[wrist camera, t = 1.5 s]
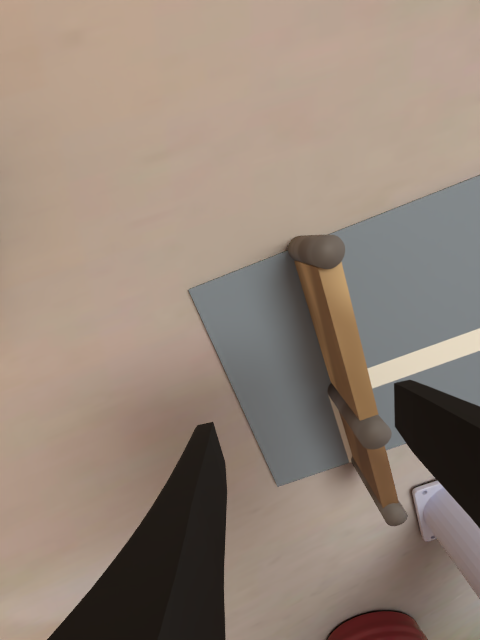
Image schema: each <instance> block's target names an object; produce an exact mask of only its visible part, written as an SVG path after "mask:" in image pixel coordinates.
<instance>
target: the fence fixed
mask: <svg viewBox="0 0 480 640" xmlns="http://www.w3.org/2000/svg"><path fill="white" fill-rule="evenodd" d="M328 395H329V396H330V398H331V399H332V401H333V402H334V404H335V405H336V407H337V408H338V410H339V413H340V416H341V419H342V423H343V426H344V429H345V433H346V436H347V439H348V443H349V446H350V449H351V452H352V458H351V462H352V463H353V465H354V467H355V469H356V470H357V472H358V474H359V476H360V477H361V479H362V481H363V483H364V484H365V486H366V488H367V490H368V491H369V493H370V495H371V497H372V498H373V500H374V502H375V504H376V505H377V507H378V509H379V511H380V512H381V514H382V516H383V518H384V519H385V521H386V523H387V524H388V525H390V526H397V525H400V524H402V523H404V522H405V521H406V519H407V517H408V515H407V513H406V511H405V510H404V508H403V507H402V505H401V504H400V502H399V501H398V498H397V494H396V490H395V485H394V481H393V477H392V473H391V469H390V465H389V461H388V457H387V453H386V449H385V445H386V444H387V443H388V442H389V440H390V438H391V435H392V432H391V429H390V428H389V427H388V425H387V424H386V423H385V422H384V421H383V420H382V419H381V417H380V416H379V415H375V416H372V417H369V418H366V419H364V420H361V421H360V420H359V419H358V418H357V416H356V415H355V414H354V412H353V411H352V410H351V408H350V407H349V406H348V404H347V403H346V402H345V400H344V399H343V398H342V396H341V395H340V394H339V392H338V391H337V390H336V388H335V387H334V386H333V384H332V383H331V384H330V385H329V387H328Z"/></svg>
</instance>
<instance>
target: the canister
mask: <svg viewBox="0 0 480 640" xmlns="http://www.w3.org/2000/svg"><path fill="white" fill-rule="evenodd" d="M328 640H428V639H427V637H426V636H425V634H424V633H423V632H422V631H421V629H420V627H419V626H418V624H417V622H416V621H415V620H414V619H413V618H411V617H410V616H408V615H406V614H403V613H400V612H394V611H379V612H372V613H367V614H363V615H360V616H357V617H355V618H352V619H350V620H348V621H346V622H345V623H343V624H341V625H340V626H339V627H337V628H336V629H335V630H334V631H333V632H332V633H331V635H330V636H329V638H328Z"/></svg>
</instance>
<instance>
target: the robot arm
mask: <svg viewBox="0 0 480 640" xmlns="http://www.w3.org/2000/svg"><path fill="white" fill-rule="evenodd" d="M394 412H395V427H396V429H397V430H398V432H399V433H400V435H401V436H402V438H403V439H404V441H405V442H406V443H407V445H408V446H409V448H410V449H411V450H412V452H413V453H414V454H415V455H416V456H417V458H418V459H419V460H420V461H421V462H422V463H423V464H424V466H425V467H426V468H427V469H428V470H429V471H430V472H431V474H432V475H433V476H434V477H435V478H436V479H437V481H434V482H431V483H428V484H425V485H422V486H419V487H416V488H414V489H413V490H412V494H413V499H414V503H415V508H416V513H417V517H418V522H419V526H420V531H421V536H422V538H423V539H424V541H427V542H428V541H432V540H435V539H438V541H439V542H440V544H441V545H442V547H443V548H444V549H445V551H446V552H447V554H448V555H449V556H450V558H451V559H452V561H453V562H454V563H455V565H456V566H457V568H458V569H459V570H460V572H461V573H462V575H463V576H464V578H465V579H466V580H467V582H468V583H469V585H470V586H471V587H472V589H473V590H474V592H475V593H476V594H477V596H478V597H479V599H480V406H477V405H475V404H472V403H470V402H467V401H465V400H462V399H459V398H457V397H454V396H452V395H449V394H447V393H444V392H442V391H439V390H437V389H434V388H432V387H429V386H427V385H424V384H421V383H418V382H416V381H413V380H406V381H401V382H396V383H394ZM226 505H227V484H226V468H225V460H224V457H223V454H222V450H221V447H220V444H219V440H218V437H217V434H216V430H215V427H214V423H213V422H211V423H206V424H202V425H197V427H196V428H195V430H194V432H193V434H192V436H191V438H190V440H189V442H188V444H187V446H186V448H185V450H184V452H183V454H182V456H181V458H180V460H179V461H178V463H177V465H176V467H175V469H174V470H173V472H172V474H171V476H170V478H169V479H168V481H167V483H166V484H165V486H164V488H163V489H162V491H161V493H160V494H159V496H158V497H157V499H156V501H155V502H154V504H153V506H152V507H151V509H150V510H149V512H148V513H147V515H146V516H145V518H144V519H143V521H142V522H141V524H140V525H139V526H138V528H137V529H136V531H135V532H134V534H133V535H132V536H131V538H130V539H129V541H128V542H127V543H126V545H125V546H124V547H123V549H122V550H121V551H120V553H119V554H118V555H117V557H116V558H115V559H114V560H113V562H112V563H111V564H110V566H109V567H108V568H107V569H106V571H105V572H104V573H103V575H102V576H101V577H100V578H99V580H98V581H97V582H96V583H95V585H94V586H93V587H92V588H91V590H90V591H89V592H88V593H87V594H86V595H85V597H84V598H83V599H82V600H81V601H80V602H79V604H78V605H77V606H76V607H75V608H74V609H73V611H72V612H71V613H70V614H69V615H68V617H67V618H66V619H65V620H64V621H63V622H62V623H61V625H60V626H59V627H58V628H57V629H56V630H55V631H54V632H53V634H52V635H51V636H50V637H49V638H48V639H47V640H225V612H224V555H225V531H226Z"/></svg>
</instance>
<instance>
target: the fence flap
mask: <svg viewBox="0 0 480 640" xmlns="http://www.w3.org/2000/svg"><path fill="white" fill-rule="evenodd" d="M288 253H289V255H290V257H291V258H292V259H294V260H295V261H294V262H295V265H296V269H297V272H298V275H299V279H300V282H301V285H302V289H303V292H304V295H305V299H306V302H307V305H308V308H309V312H310V315H311V318H312V322H313V325H314V328H315V332H316V335H317V338H318V342H319V345H320V348H321V351H322V355H323V358H324V361H325V365H326V368H327V371H328V375H329V378H330V381H331V383H332V384H333V386H334V387H335V388H336V390H337V391H338V392H339V394H340V395H341V396H342V398H343V399H344V400H345V402H346V403H347V404H348V406H349V407H350V408H351V410H352V411H353V412H354V414H355V415H356V416H357V418H358V419H359V420H360V421H361V420H364V419H366V418H369V417H372V416H375V415H378V410H377V406H376V402H375V398H374V394H373V390H372V386H371V381H370V377H369V373H368V369H367V365H366V361H365V357H364V353H363V348H362V344H361V340H360V336H359V332H358V328H357V324H356V319H355V315H354V311H353V307H352V303H351V299H350V295H349V291H348V286H347V282H346V278H345V274H344V270H343V266H342V262H341V261H342V260H343V258H344V255H345V245H344V243H343V241H342V240H341V238H339V237H338V236H336V235H309V236H297V237H295V238H293V239H292V240H291V242H290V243H289V246H288Z"/></svg>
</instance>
